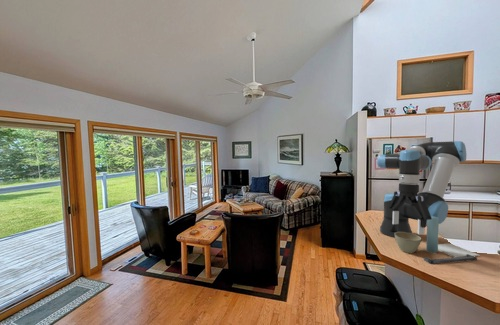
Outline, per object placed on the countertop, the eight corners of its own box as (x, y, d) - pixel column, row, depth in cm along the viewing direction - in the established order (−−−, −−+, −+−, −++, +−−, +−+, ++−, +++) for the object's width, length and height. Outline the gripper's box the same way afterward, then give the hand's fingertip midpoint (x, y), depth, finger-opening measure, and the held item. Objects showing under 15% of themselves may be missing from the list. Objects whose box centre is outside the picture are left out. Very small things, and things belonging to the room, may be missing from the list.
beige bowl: (389, 246, 103) (389, 231, 103) (410, 246, 103) (410, 231, 102) (403, 255, 93) (404, 240, 93) (426, 256, 93) (427, 240, 92)
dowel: (424, 249, 99) (424, 216, 98) (431, 249, 100) (432, 215, 99) (432, 253, 95) (433, 218, 94) (440, 253, 96) (441, 218, 95)
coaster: (429, 246, 103) (429, 244, 103) (450, 244, 104) (450, 243, 104) (456, 258, 91) (456, 256, 91) (479, 256, 92) (479, 255, 92)
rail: (423, 260, 89) (423, 257, 89) (468, 256, 92) (468, 254, 92) (430, 263, 86) (430, 261, 86) (476, 260, 89) (476, 257, 89)
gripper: (381, 180, 109) (380, 220, 109) (427, 187, 84) (425, 239, 84) (394, 180, 109) (393, 220, 110) (444, 187, 85) (442, 238, 85)
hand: (407, 228), depth 97 cm, fingers open, 13 cm apart
